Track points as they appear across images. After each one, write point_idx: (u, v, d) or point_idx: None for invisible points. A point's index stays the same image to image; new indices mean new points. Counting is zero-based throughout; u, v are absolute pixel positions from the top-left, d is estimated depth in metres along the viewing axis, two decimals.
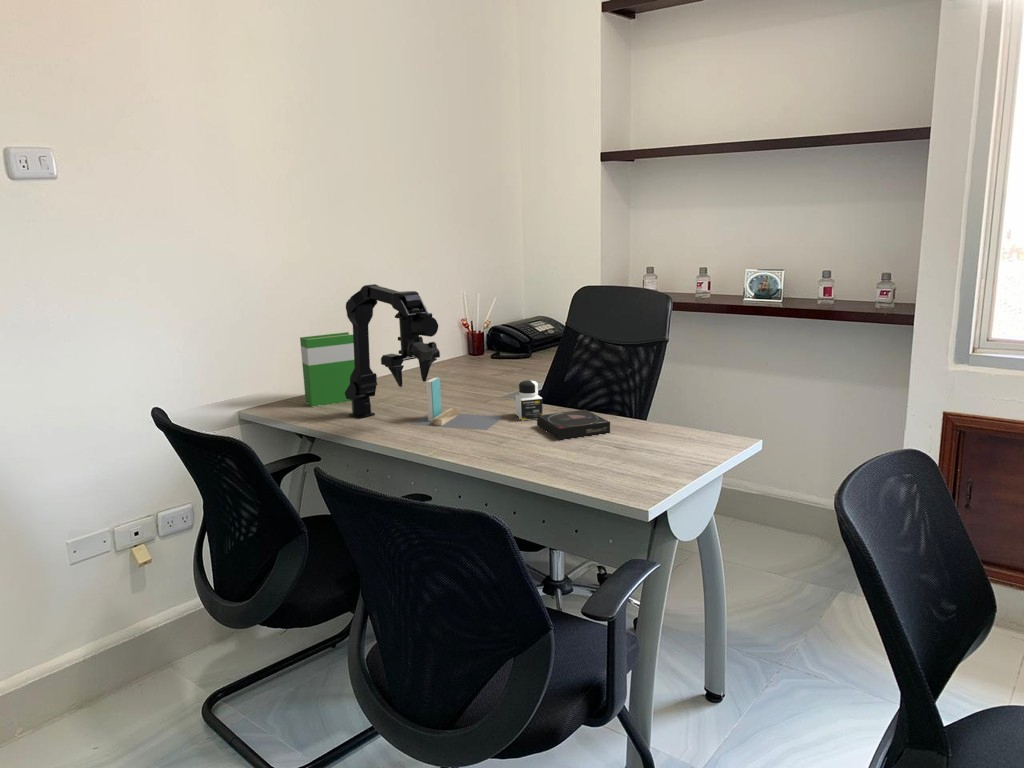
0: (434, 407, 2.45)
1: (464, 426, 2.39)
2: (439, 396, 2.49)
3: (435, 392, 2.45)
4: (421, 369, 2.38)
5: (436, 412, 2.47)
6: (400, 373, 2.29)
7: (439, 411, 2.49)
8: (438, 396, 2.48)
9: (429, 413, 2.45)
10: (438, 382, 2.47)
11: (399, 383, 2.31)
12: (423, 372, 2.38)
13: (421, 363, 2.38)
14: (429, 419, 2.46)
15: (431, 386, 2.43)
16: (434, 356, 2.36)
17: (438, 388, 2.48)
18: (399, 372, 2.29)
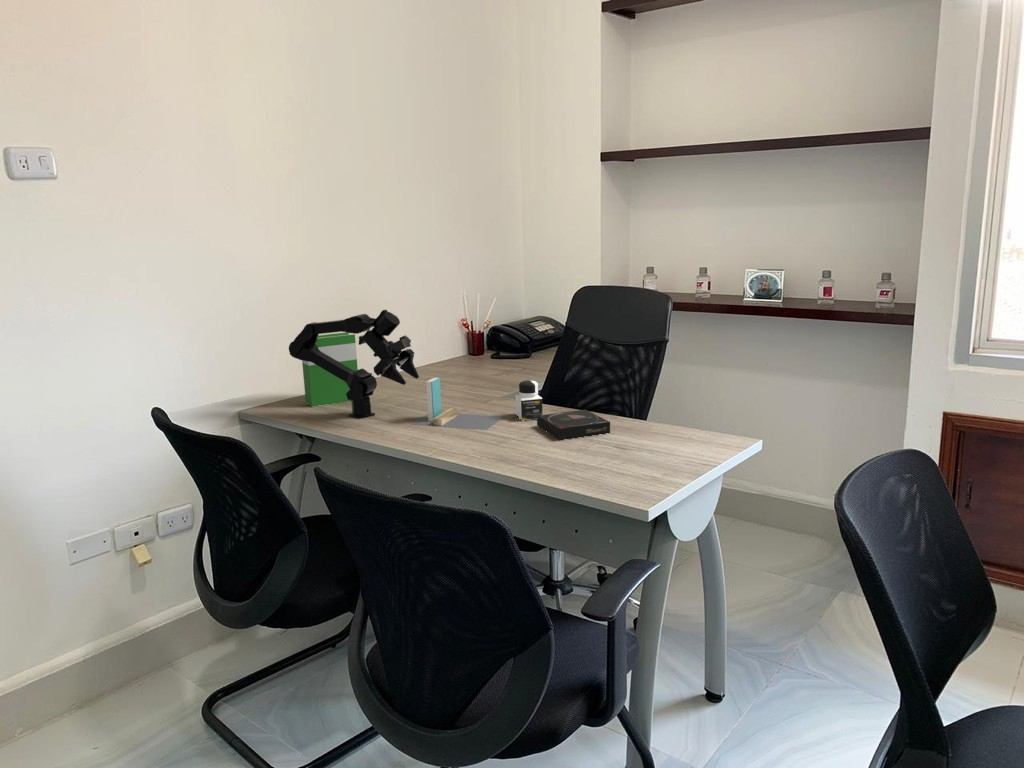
0: (434, 407, 2.45)
1: (464, 426, 2.39)
2: (439, 396, 2.49)
3: (435, 392, 2.45)
4: (408, 371, 2.53)
5: (436, 412, 2.47)
6: (397, 371, 2.43)
7: (439, 411, 2.49)
8: (438, 396, 2.48)
9: (429, 413, 2.45)
10: (438, 382, 2.47)
11: (402, 381, 2.43)
12: (411, 372, 2.53)
13: (405, 367, 2.54)
14: (429, 419, 2.46)
15: (431, 386, 2.43)
16: (410, 353, 2.54)
17: (438, 388, 2.48)
18: (396, 370, 2.43)
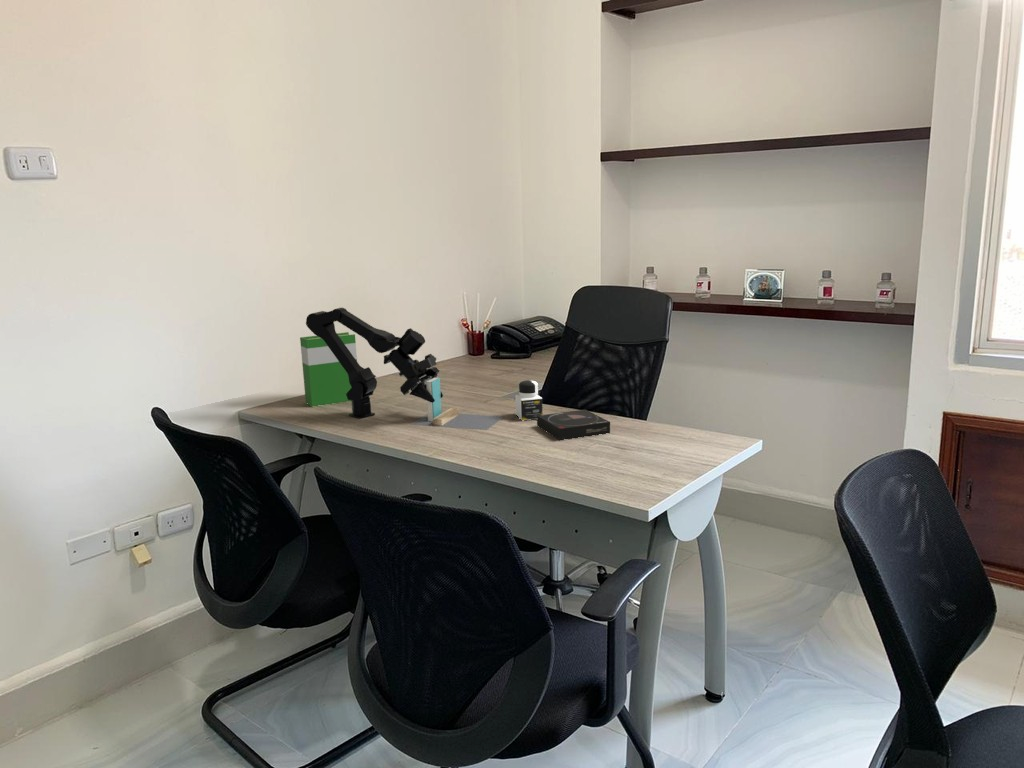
0: (434, 407, 2.45)
1: (464, 426, 2.39)
2: (439, 396, 2.49)
3: (435, 392, 2.45)
4: None
5: (436, 412, 2.47)
6: (425, 389, 2.43)
7: (439, 411, 2.49)
8: (438, 396, 2.48)
9: (429, 413, 2.45)
10: (438, 382, 2.47)
11: (431, 399, 2.43)
12: None
13: None
14: (429, 419, 2.46)
15: (431, 386, 2.43)
16: (435, 371, 2.52)
17: (438, 388, 2.48)
18: (424, 388, 2.42)
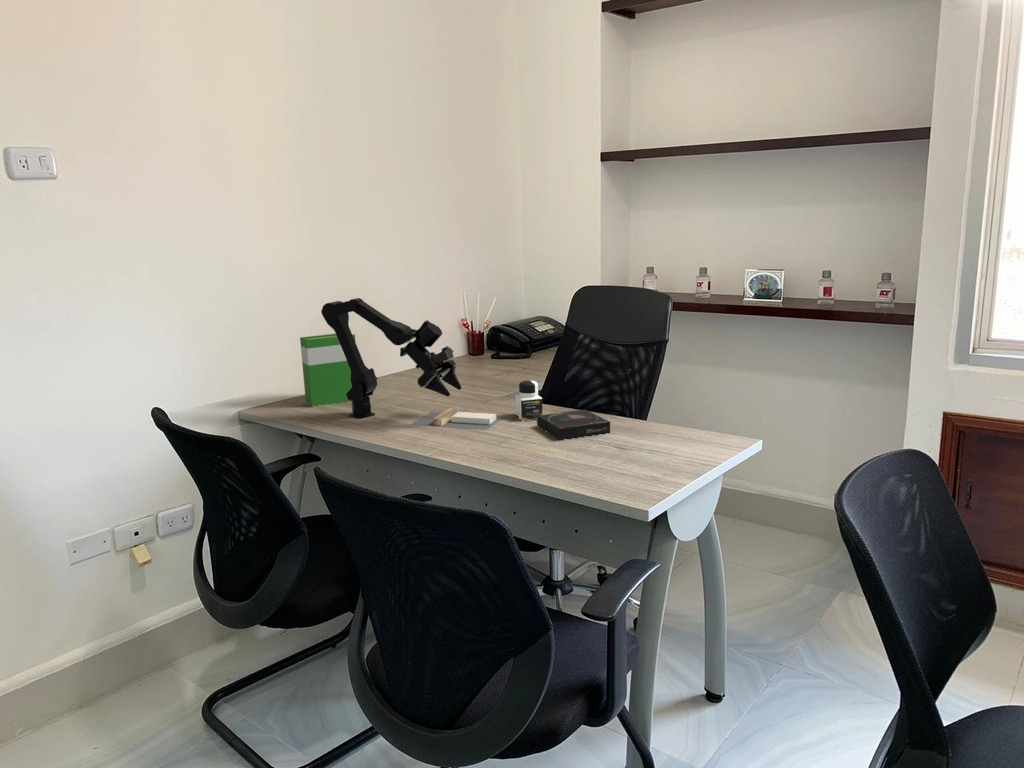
0: None
1: (464, 426, 2.39)
2: None
3: None
4: (451, 383, 2.49)
5: None
6: (441, 382, 2.39)
7: None
8: None
9: (459, 418, 2.42)
10: None
11: (446, 392, 2.39)
12: (454, 383, 2.49)
13: (447, 379, 2.50)
14: (452, 417, 2.43)
15: (485, 423, 2.40)
16: (452, 363, 2.50)
17: None
18: (440, 382, 2.39)
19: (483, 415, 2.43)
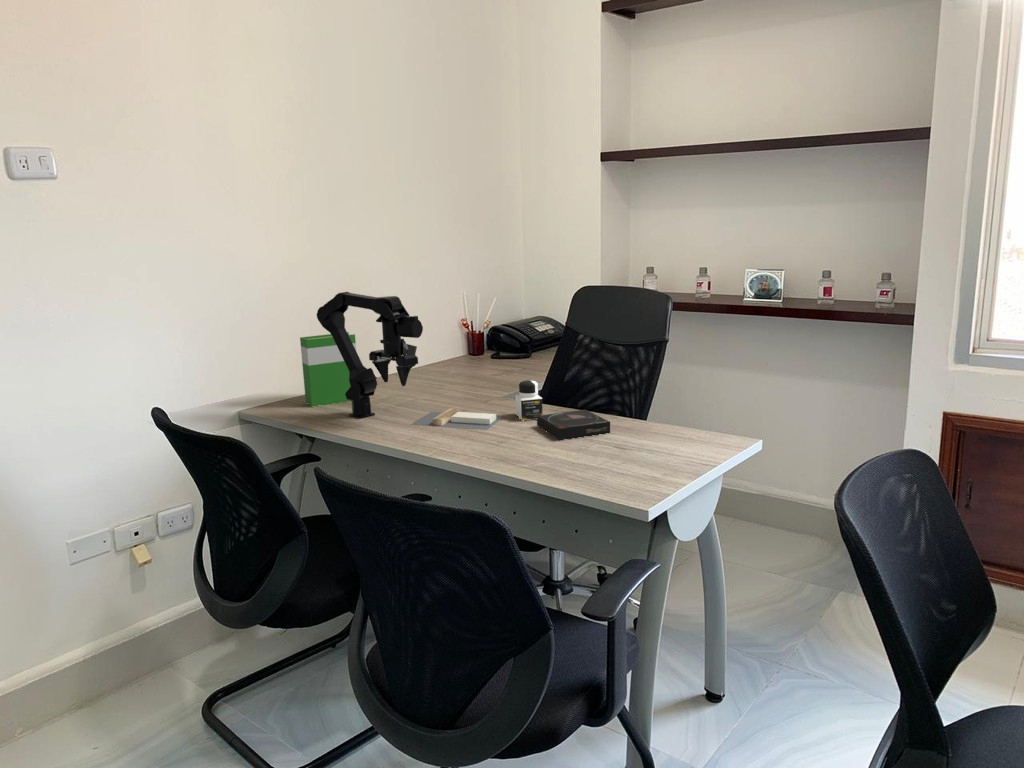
0: None
1: (464, 426, 2.39)
2: None
3: None
4: (382, 371, 2.50)
5: None
6: None
7: None
8: None
9: (459, 418, 2.42)
10: None
11: (405, 382, 2.44)
12: (385, 373, 2.50)
13: (381, 366, 2.49)
14: (452, 417, 2.43)
15: (485, 423, 2.40)
16: None
17: None
18: None
19: (483, 415, 2.43)
